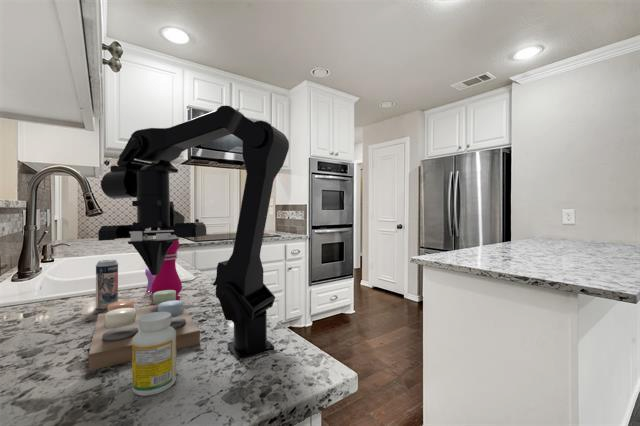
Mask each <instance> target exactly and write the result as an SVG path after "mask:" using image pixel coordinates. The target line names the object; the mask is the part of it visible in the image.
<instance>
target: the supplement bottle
mask: <svg viewBox="0 0 640 426" xmlns="http://www.w3.org/2000/svg"><path fill="white" fill-rule="evenodd" d="M170 324H171V313H169V312H153V313H148V314H145V315H143V316H141V317H139V319H138V328H139V330H141V331H139V332H138V333H137V334H136V335H135V336H134V338H133V341H132V361H131V365H132V370H131V374H132V375H131V377H132V378H131V379H132V381H131V382H132V383H131V384H132V391H133V393H134V394H135V395H138V396H143V397H145V396H146V397H147V396H153V395H154V396H155V395H157V394H159V393H162V392H164V391H166V390H168V389H169V388H171V386H173V385H174V383H175V382H176V380H177V350H176V331H175V329H174V328H173V327H171V326H169V325H170Z"/></svg>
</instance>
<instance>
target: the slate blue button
mask: <svg viewBox="0 0 640 426" xmlns="http://www.w3.org/2000/svg"><path fill="white" fill-rule="evenodd" d="M184 308H185V305H184V301H183V300H181V299H180V300H174V301H167V302H163V303H160V304H159V305H158V312H169V313H171V318H172V317H177V316H180V315H182V314H183V313H184Z"/></svg>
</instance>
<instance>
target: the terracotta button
mask: <svg viewBox="0 0 640 426" xmlns="http://www.w3.org/2000/svg"><path fill="white" fill-rule="evenodd" d="M134 304H135V303H134V300H118V302H114V303H111V304H109V305H108V309H107V312H109V311H112V310H116V309H121V308H134V309H135V305H134Z"/></svg>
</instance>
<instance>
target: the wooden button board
mask: <svg viewBox="0 0 640 426" xmlns="http://www.w3.org/2000/svg"><path fill="white" fill-rule="evenodd" d="M134 309H135V322H134V323H132V324H130V325H127V326H123V327H117V328H108V327H106V326H105V314H106V313H107V312H103V313H98V315H97V319H96V322H95V323H96V324H95V327H94V332H93V336H92V340H91V343H90V348H89V352H88V372H90V371H93V370H98V369H101V368H102V369H103V368H106V367H111V366H115V365H118V364H119V365H120V364H124V363H128V362H132V341H133V338H134V336H135V335H136V334H137V333H138V332H139V331H141V330H139V328H138V319H139V317H141V316H143V315H145V314H148V313H153V312H158V305H154V306H153V305H150V306H149V305H147V306H142V307H137V308H136V307H134ZM169 326H171V327H173V328H174V329H175V331H176V351H177V350H181V349H185V348H188V347H192V346H197V345H200V344H201V330H200V328H199V327H198V326H197V324H196V322H195V321H194V319H193V318H192V317H191V315H190V314H189V312H188V311H187V309H186V307H184V313H183V314H182V315H180V316H177V317H172V318H171V324H170V325H169Z"/></svg>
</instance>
